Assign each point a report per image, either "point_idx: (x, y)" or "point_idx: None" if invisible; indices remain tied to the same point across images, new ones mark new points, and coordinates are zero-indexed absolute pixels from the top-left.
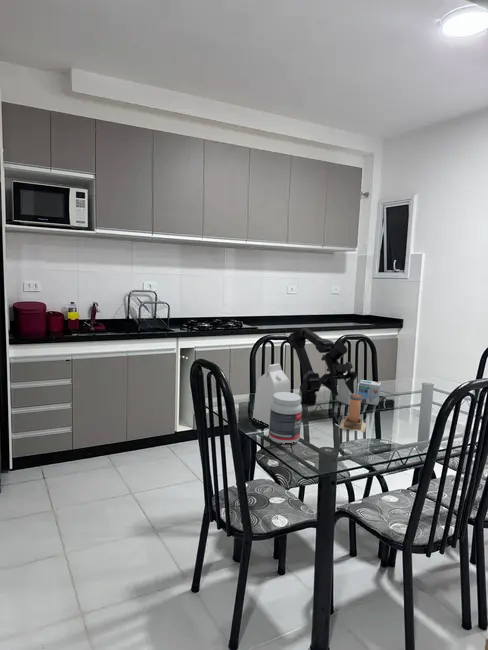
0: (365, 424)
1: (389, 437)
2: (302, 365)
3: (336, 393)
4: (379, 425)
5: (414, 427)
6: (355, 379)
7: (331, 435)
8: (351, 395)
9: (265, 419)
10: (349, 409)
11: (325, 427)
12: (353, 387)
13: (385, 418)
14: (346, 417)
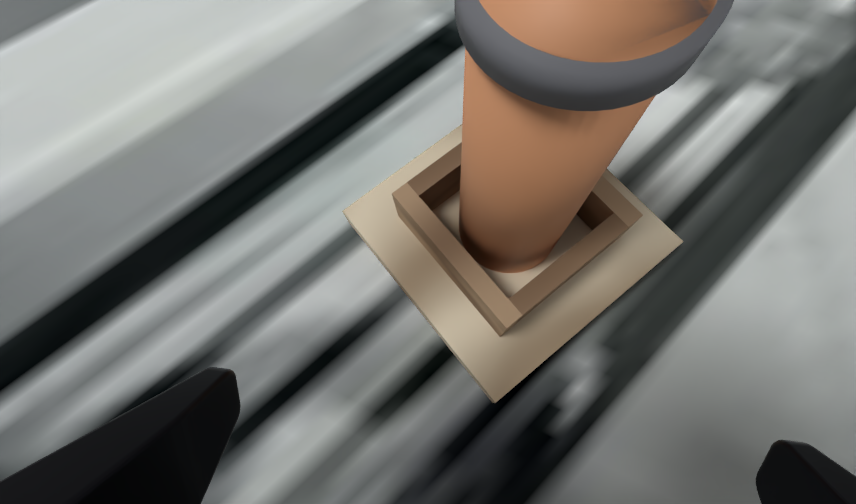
0: (375, 192)
1: (368, 12)
2: None
3: (848, 491)
4: (223, 188)
5: (29, 53)
6: None
7: (797, 212)
8: (665, 30)
9: None
10: (601, 175)
11: (744, 377)
12: (58, 458)
13: (16, 276)
14: (532, 293)
